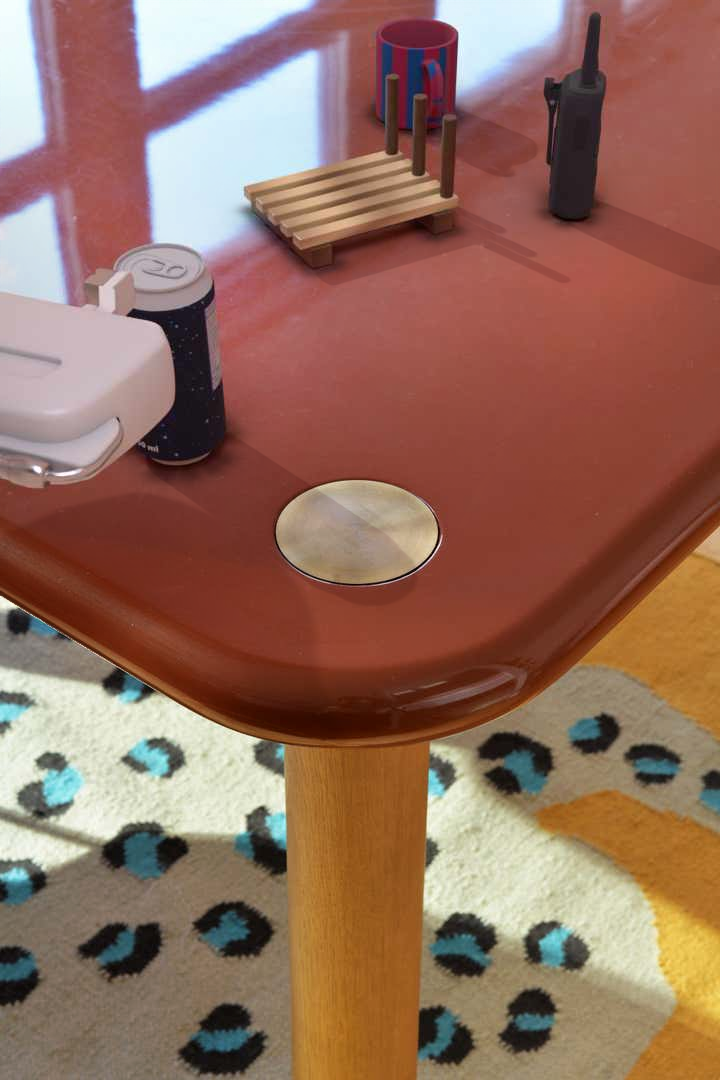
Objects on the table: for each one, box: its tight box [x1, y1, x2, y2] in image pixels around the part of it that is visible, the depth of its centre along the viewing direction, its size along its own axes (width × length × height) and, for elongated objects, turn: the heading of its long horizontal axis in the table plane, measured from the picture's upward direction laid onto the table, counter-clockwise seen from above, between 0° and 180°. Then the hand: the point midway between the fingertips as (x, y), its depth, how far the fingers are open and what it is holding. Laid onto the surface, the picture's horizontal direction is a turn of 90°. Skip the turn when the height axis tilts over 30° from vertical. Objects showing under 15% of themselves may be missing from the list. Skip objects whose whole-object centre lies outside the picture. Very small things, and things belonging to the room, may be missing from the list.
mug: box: [375, 17, 459, 131], centre depth 111 cm, size 7×10×7 cm
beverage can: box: [112, 242, 227, 466], centre depth 77 cm, size 6×6×12 cm
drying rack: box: [243, 74, 460, 270], centre depth 98 cm, size 13×10×8 cm
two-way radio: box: [543, 11, 607, 220], centre depth 98 cm, size 6×4×15 cm
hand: (26, 266), depth 61 cm, fingers open, 8 cm apart
